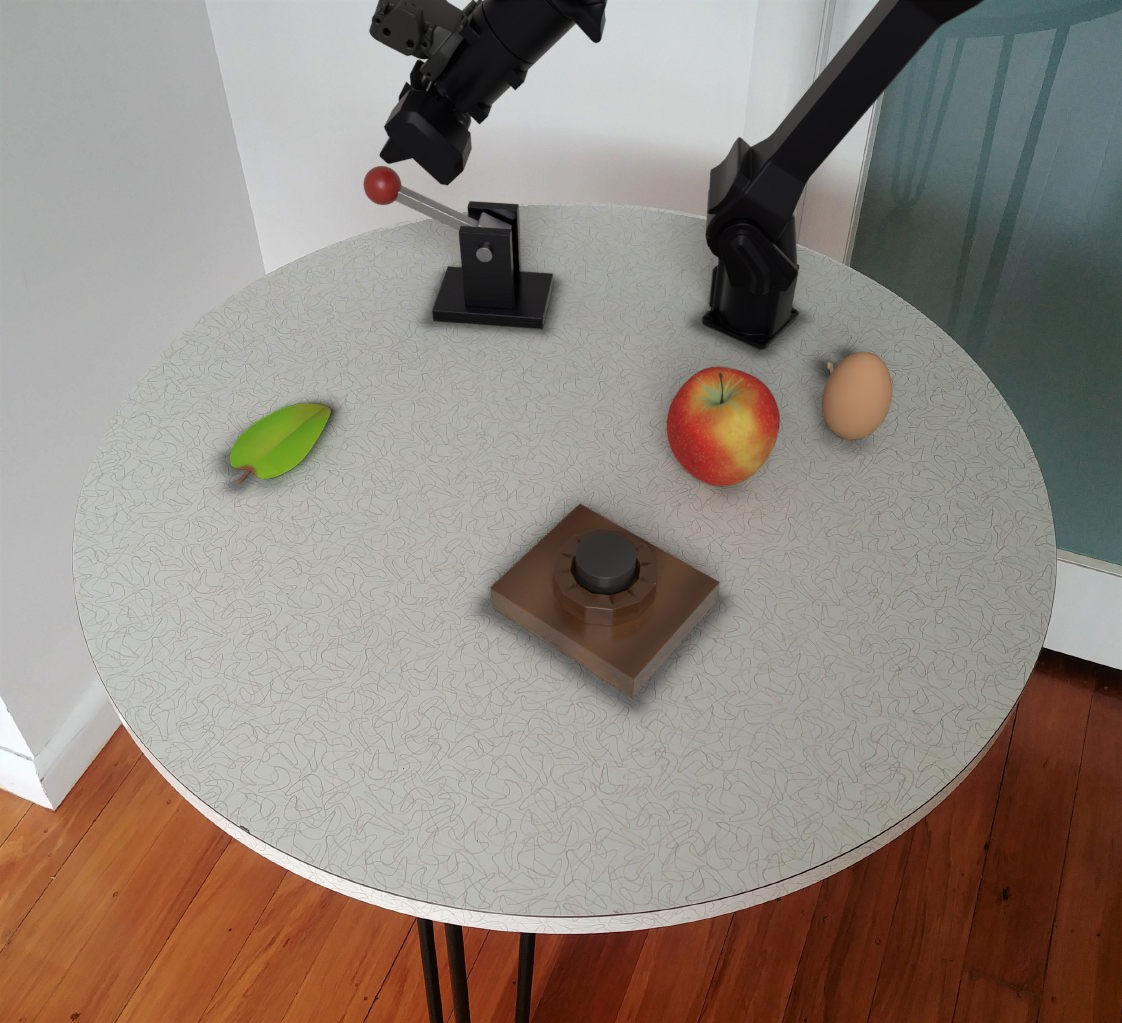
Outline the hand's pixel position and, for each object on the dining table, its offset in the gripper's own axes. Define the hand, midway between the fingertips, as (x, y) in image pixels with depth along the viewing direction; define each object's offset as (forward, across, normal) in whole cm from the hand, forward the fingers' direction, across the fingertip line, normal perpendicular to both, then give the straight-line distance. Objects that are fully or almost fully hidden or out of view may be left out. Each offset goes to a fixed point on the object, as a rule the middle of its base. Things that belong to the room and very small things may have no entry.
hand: (384, 158), depth 88 cm
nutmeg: (-18, +6, +38) cm, 43 cm away
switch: (+2, 0, +7) cm, 7 cm away
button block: (-6, +34, +25) cm, 43 cm away
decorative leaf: (+13, +21, +6) cm, 26 cm away
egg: (-18, +14, +38) cm, 44 cm away
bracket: (+4, 0, +16) cm, 16 cm away
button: (-9, +34, +23) cm, 42 cm away
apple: (-11, +20, +31) cm, 38 cm away
